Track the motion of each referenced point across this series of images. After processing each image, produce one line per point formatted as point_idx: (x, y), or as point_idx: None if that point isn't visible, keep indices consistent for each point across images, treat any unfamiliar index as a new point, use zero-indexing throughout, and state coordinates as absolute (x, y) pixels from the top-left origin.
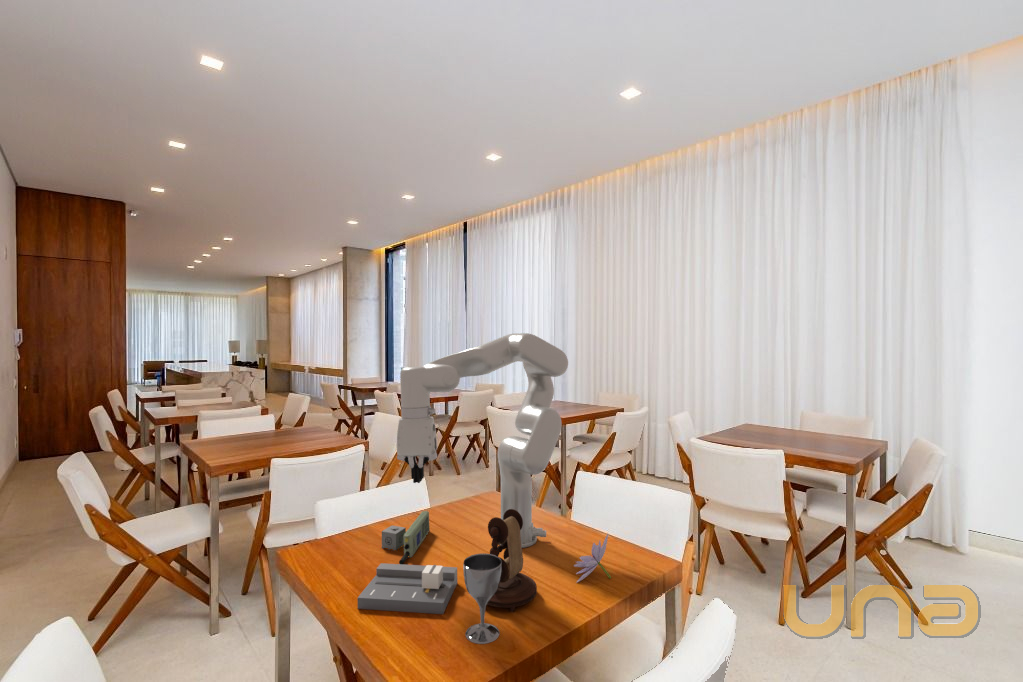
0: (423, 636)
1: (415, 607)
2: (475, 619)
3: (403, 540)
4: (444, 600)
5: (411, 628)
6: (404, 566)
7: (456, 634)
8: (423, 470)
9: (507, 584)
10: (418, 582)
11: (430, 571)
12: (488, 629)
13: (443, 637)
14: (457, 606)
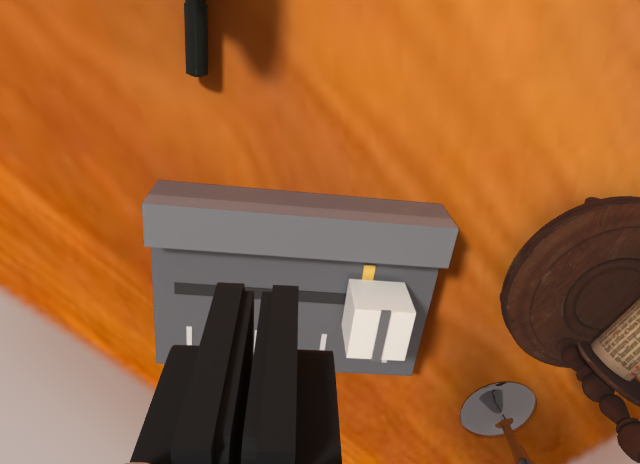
0: (366, 424)
1: None
2: (486, 368)
3: None
4: (414, 363)
5: None
6: (250, 226)
7: (439, 415)
8: (336, 432)
9: (613, 312)
10: (320, 281)
11: (376, 354)
12: (514, 416)
13: (411, 424)
14: (442, 322)
